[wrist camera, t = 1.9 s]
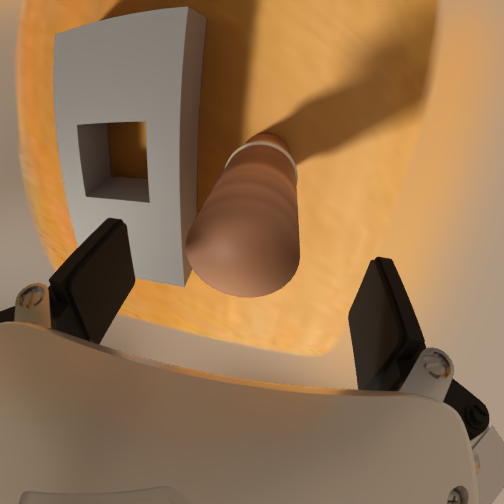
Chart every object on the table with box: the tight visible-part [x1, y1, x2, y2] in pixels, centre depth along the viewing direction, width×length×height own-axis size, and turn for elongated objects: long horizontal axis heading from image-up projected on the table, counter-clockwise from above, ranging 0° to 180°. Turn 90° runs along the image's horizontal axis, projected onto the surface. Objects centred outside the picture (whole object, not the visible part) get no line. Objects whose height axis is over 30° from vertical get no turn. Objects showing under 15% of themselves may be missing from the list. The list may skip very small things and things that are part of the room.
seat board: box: [53, 7, 207, 287], centre depth 18 cm, size 20×10×4 cm, turn 175°
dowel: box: [186, 133, 300, 297], centre depth 15 cm, size 4×4×12 cm
